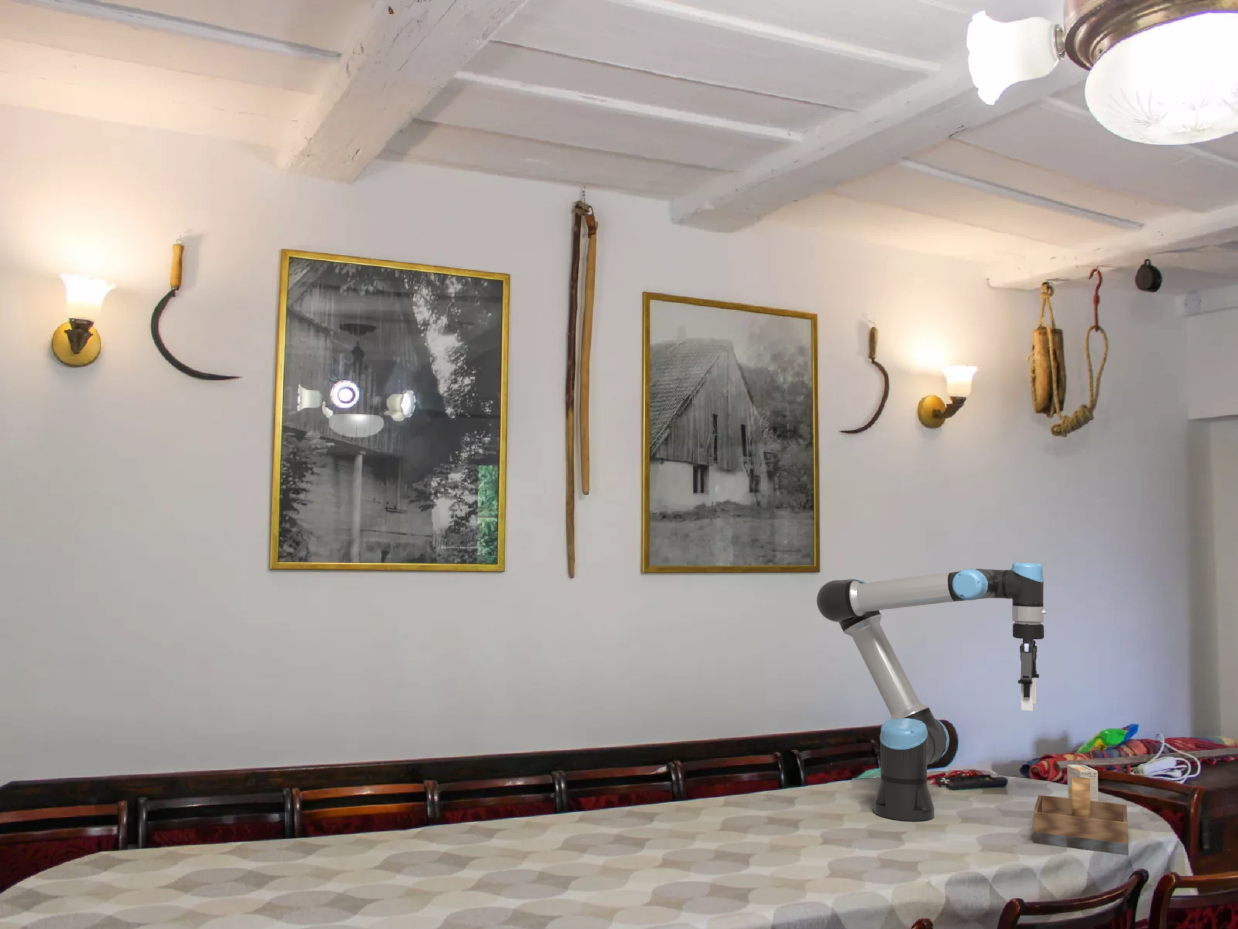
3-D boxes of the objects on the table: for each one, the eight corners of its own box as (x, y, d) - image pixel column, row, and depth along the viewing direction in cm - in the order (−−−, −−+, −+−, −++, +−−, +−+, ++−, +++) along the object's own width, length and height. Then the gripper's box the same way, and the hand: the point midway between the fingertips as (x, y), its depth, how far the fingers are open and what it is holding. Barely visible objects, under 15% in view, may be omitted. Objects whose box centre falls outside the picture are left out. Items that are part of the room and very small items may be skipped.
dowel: (1072, 839, 248) (1071, 779, 249) (1072, 835, 252) (1072, 776, 253) (1090, 841, 246) (1089, 781, 248) (1091, 837, 250) (1090, 778, 251)
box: (1033, 842, 244) (1033, 812, 245) (1038, 823, 263) (1038, 794, 263) (1128, 855, 236) (1127, 823, 236) (1127, 833, 254) (1126, 804, 254)
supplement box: (1099, 823, 263) (1099, 770, 264) (1080, 823, 263) (1079, 770, 264) (1085, 815, 271) (1085, 764, 272) (1067, 814, 271) (1066, 763, 272)
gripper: (1040, 626, 254) (1041, 714, 253) (1046, 620, 277) (1047, 701, 275) (1008, 625, 258) (1009, 712, 256) (1016, 619, 280) (1017, 699, 278)
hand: (1029, 706), depth 266 cm, fingers open, 13 cm apart
